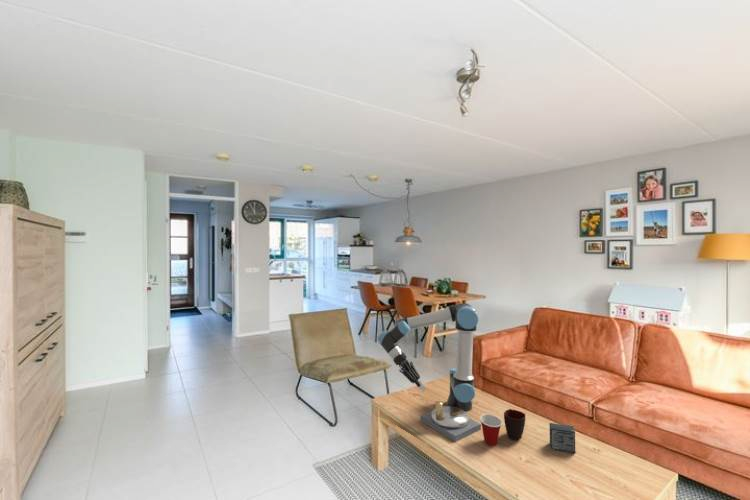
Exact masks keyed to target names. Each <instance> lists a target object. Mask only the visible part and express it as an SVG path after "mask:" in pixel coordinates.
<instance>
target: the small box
mask: <svg viewBox="0 0 750 500" xmlns="http://www.w3.org/2000/svg"><path fill="white" fill-rule="evenodd" d="M549 446H550V450H551V451H553V450H554V451H559V452H565V453H570V452H571V454H576V431H575V428H574V426H573V425H569V424H561V423H554V422H553V423H552V422H549Z"/></svg>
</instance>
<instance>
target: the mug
mask: <svg viewBox="0 0 750 500" xmlns="http://www.w3.org/2000/svg"><path fill="white" fill-rule="evenodd" d="M503 420H504V425H505V426H504V427H505V431H506V434H507V436H508V438H509V439H511V440H514V441H517V442H518V441H520V440H521V439H522V436H523V434H524V430H525V429H524V428H525V424H526V413H524V412H522V411H520V410H516V409H513V408H512V409H511V408H510V409H507V410H505V411H504V412H503Z"/></svg>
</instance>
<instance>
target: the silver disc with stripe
mask: <svg viewBox="0 0 750 500" xmlns="http://www.w3.org/2000/svg"><path fill="white" fill-rule="evenodd" d="M431 411H432V421H433V422H434V423H435V424H437V425H438V426H441V427H444V428H449V429H458V428H462V427H465V426H466V425H467V424H468V422H469V418H470V416H469V414H468V413H467V411H466V412H465V411H463V410H462V409H459V408H456V407H450V406H447V405H444V406H443V401H440V400H436V401H435V408H434V409H432V410H431Z"/></svg>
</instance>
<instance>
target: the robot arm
mask: <svg viewBox="0 0 750 500" xmlns="http://www.w3.org/2000/svg"><path fill="white" fill-rule="evenodd" d="M394 321H395V322H394V323H393V328H392V329H391V330H390V331H386V330H385V331H382V332H381V333H380V334H379V335H378V336H377V341H378V343H379V344H380V345H381V347H382V348H383V349H384V350H385V352H386V353H387V354H388V356H389V358H391V359H392V361H393V363H394V364H395V365H396V366H399V371H398V372H400V373H401V374H402V375H403V376H404V377H405V378H406V379H407V380H408V381H409V382H410V383H412V384H415V385H416V386H417V388H418V389H419V390H420V391H421V393H424V392H425V391H426V390H427V387H426V386H425V385H424V383H423V382H422V381H421V377H420V374H419V372H418V371H417V369H416V366H414V363H413V362H412V361H409V360H408V359H407V355H406V354H405V353H404V352H403V350H402V349H401V347H400V346H399V345H398V342H399V341H400V340H401V339H403V338H404V337H405V336H406V335H408V334H409V332H410V331H411V330H416V329H422V328H425V327H429V326H433V325H438V324H442V323H446V322H451V323H453V322H455V330H456V331H457V345H456V347H457V348H456V367H452V368H450V370H449V394H448V398H447V399H446V406H450V407H456V408H459V409H462V410H463V411H465V412H466V413H467V412H469V411H471V410H473V402H472V401H473V399H474V398H475V395H476V389H475V385H474V384H475V383H474V382H475V376H474V375H473V373H472V371H473V370H472V369H473V368H472V367H473V346H474V333H476V332H477V325H478V324H479V314H478V312H477V310H476V309H475V308H473V306H471V304H470V303H465V302H461V303H456V304H452V305H449V306H446V308H444V309H439V310H436V311H431V312H427V313H423V314H419V315H418V314H417V315H414V316H411V317H406V318H401V317H400V318H397V319H396V320H394Z"/></svg>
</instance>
